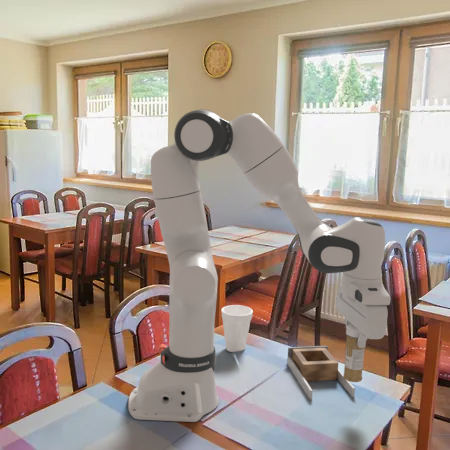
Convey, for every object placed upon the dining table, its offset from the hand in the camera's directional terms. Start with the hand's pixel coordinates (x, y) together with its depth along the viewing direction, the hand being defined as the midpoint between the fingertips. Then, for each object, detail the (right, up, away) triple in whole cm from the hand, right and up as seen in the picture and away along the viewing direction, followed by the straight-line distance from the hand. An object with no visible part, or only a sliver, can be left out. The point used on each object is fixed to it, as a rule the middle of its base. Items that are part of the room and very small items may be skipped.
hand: (355, 341), depth 116 cm
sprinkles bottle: (0, -10, +2) cm, 10 cm away
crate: (-6, -14, +21) cm, 26 cm away
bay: (-6, -15, +17) cm, 24 cm away
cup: (-28, -12, +36) cm, 47 cm away
